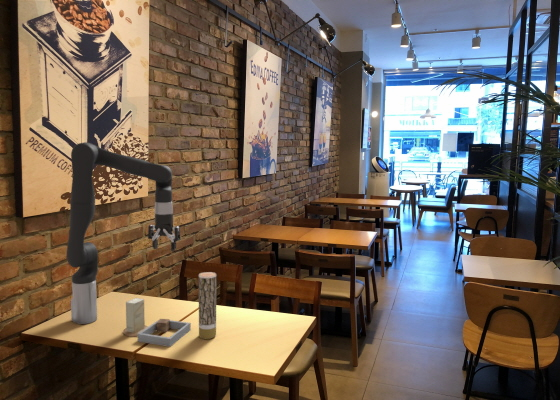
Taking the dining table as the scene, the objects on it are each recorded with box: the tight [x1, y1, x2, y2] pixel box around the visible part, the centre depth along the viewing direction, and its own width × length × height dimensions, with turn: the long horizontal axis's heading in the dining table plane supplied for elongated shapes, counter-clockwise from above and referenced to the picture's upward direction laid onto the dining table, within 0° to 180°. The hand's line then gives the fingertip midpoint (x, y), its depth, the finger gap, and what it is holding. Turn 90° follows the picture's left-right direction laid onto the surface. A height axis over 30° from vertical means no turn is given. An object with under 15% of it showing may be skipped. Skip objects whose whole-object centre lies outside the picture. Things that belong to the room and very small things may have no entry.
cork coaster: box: [122, 325, 149, 337], centre depth 178 cm, size 10×10×1 cm
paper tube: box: [198, 271, 217, 340], centre depth 174 cm, size 7×7×25 cm
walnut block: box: [156, 318, 171, 333], centre depth 180 cm, size 4×4×4 cm
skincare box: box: [125, 297, 146, 333], centre depth 178 cm, size 6×4×12 cm
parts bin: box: [137, 319, 192, 347], centre depth 175 cm, size 14×16×3 cm
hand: (164, 249), depth 190 cm, fingers open, 8 cm apart
